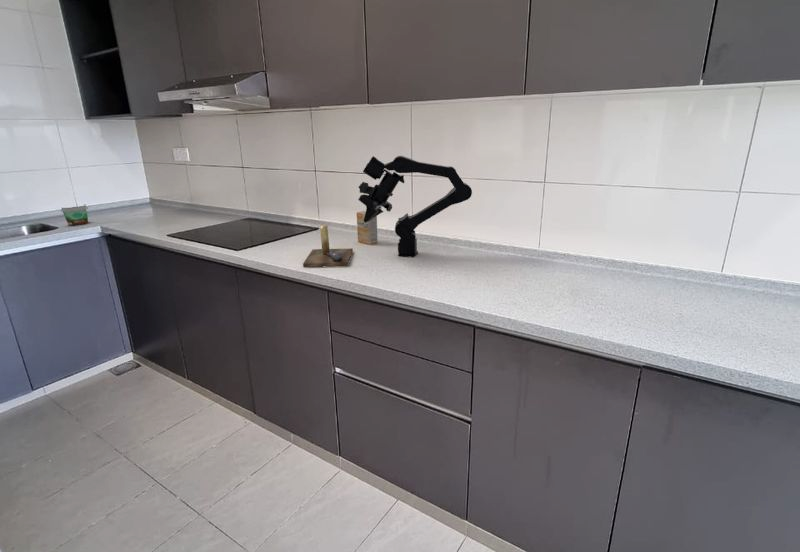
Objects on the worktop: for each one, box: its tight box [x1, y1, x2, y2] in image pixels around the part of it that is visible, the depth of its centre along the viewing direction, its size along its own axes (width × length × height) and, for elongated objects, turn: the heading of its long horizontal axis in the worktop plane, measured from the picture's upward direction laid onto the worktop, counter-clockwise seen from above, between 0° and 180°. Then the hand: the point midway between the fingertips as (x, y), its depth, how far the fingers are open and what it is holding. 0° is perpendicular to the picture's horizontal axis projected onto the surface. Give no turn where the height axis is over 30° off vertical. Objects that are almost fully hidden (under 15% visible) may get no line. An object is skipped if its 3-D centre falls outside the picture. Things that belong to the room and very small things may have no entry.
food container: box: [60, 204, 89, 227], centre depth 238 cm, size 12×6×10 cm, turn 148°
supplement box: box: [356, 210, 379, 245], centre depth 186 cm, size 8×5×13 cm, turn 45°
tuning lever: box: [319, 224, 342, 261], centre depth 162 cm, size 4×17×10 cm, turn 31°
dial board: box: [302, 247, 354, 268], centre depth 165 cm, size 16×19×2 cm
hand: (364, 222), depth 165 cm, fingers closed
